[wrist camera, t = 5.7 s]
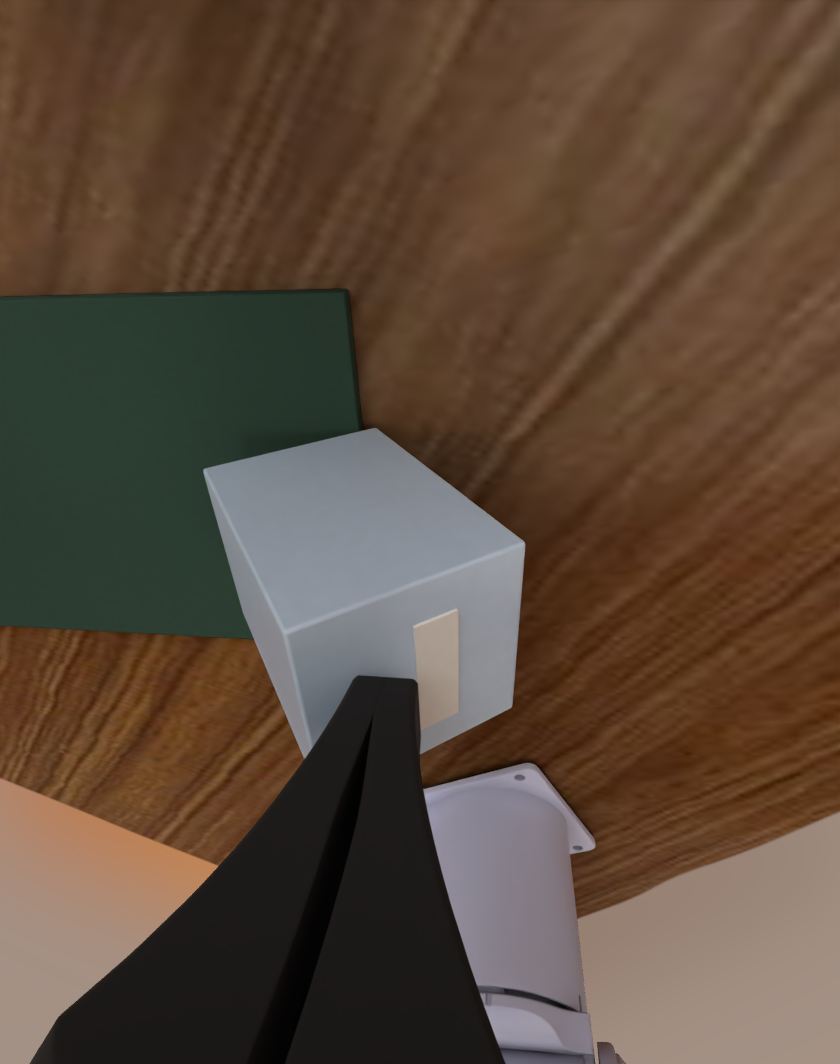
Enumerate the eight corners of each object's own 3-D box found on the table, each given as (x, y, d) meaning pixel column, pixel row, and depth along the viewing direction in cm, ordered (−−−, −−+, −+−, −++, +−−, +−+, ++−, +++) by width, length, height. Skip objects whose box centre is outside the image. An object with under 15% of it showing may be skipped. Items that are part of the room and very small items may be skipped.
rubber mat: (348, 288, 16) (344, 292, 16) (384, 636, 24) (382, 646, 23) (-235, 301, 18) (-255, 305, 18) (-31, 615, 26) (-41, 623, 26)
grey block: (529, 543, 12) (283, 635, 10) (515, 710, 15) (324, 808, 13) (376, 426, 18) (201, 468, 16) (387, 562, 21) (243, 613, 19)
